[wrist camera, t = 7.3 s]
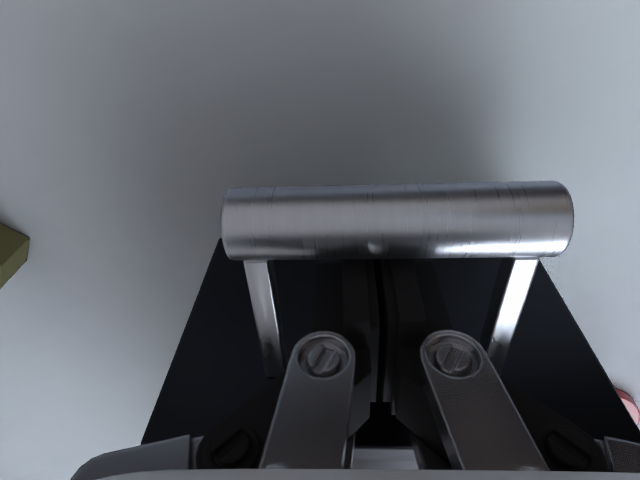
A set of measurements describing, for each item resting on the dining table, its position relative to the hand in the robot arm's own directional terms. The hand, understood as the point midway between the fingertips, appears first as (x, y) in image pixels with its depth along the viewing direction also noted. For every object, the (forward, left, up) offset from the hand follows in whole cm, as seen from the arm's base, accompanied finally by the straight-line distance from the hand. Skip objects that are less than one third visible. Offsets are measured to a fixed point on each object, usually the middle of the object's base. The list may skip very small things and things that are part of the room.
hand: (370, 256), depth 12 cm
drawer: (+4, -6, -5) cm, 9 cm away
